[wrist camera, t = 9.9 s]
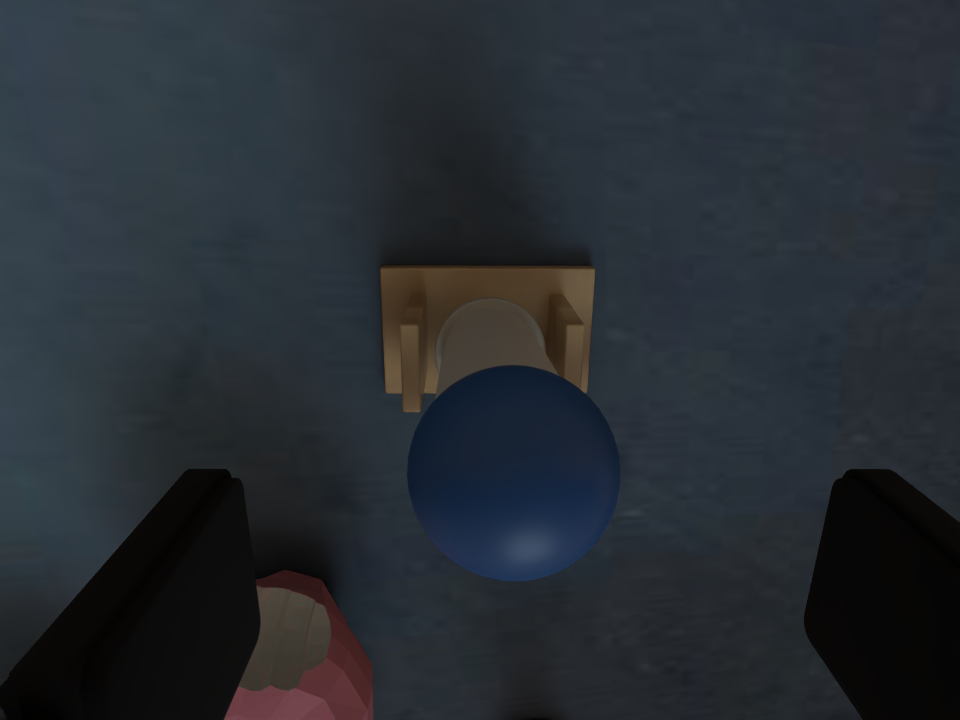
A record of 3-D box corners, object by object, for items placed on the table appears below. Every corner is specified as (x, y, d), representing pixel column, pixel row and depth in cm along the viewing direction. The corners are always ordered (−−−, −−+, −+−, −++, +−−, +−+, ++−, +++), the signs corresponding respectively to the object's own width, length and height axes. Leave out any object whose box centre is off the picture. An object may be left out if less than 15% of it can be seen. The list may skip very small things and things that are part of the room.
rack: (381, 265, 24) (361, 292, 19) (592, 265, 24) (622, 292, 19) (386, 388, 25) (370, 441, 21) (584, 388, 25) (611, 440, 21)
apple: (413, 551, 28) (385, 761, 18) (365, 698, 30) (320, 947, 21) (195, 498, 27) (45, 690, 17) (165, 654, 29) (20, 896, 20)
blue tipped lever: (393, 397, 9) (399, 631, 10) (655, 397, 9) (639, 628, 10) (434, 296, 21) (435, 403, 22) (545, 296, 22) (542, 402, 22)
